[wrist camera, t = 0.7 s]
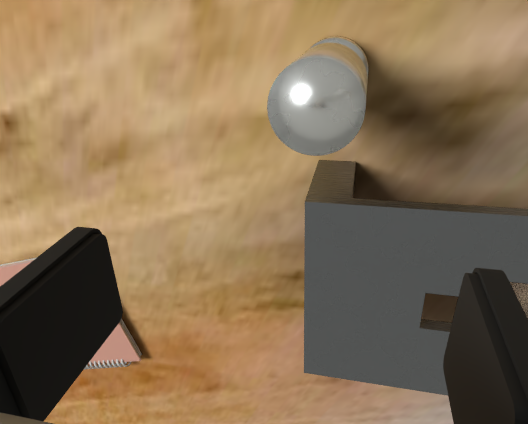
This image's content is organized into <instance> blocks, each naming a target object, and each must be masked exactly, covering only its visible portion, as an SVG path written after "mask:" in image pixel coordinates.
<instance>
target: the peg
mask: <svg viewBox="0 0 528 424" xmlns="http://www.w3.org/2000/svg"><path fill="white" fill-rule="evenodd" d="M368 73H369V67H368V61H367V58H366V55H365V53H364V51H363V50H362V49H361V47H360V46H359V45H358V44H357V43H355V42H354V41H352V40H350V39H348V38H345V37H340V36H332V37H327V38H324V39H322V40H320V41H318V42H317V43H315V44H314V45H313V46H312V47H311V48H310V49H308V50H307V51H306V52H304V53H303V54H302V55H301V56H300V57H298V58H297V59H296V60H295V61H294V62H292V63H291V64H290V65H289V66H288V67H286V68H285V69H284V70H283V71H282V72H281V73H280V74H279V75H278V77H277V78H276V80H275V81H274V83H273V85H272V87H271V89H270V93H269V96H268V105H267V109H268V117H269V121H270V124H271V126H272V128H273V130H274V132H275V134H276V135H277V136H278V138H279V139H280V140H281V141H282V142H283V143H284V144H285V145H287V146H288V147H289V148H291V149H293V150H295V151H297V152H299V153H302V154H306V155H313V156H320V155H327V154H330V153H333V152H336V151H338V150H340V149H342V148H343V147H345V146H346V145H347V144H349V143H350V142H351V141H352V140H353V139H354V137H355V136H356V135H357V133H358V131H359V130H360V128H361V126H362V123H363V120H364V116H365V108H366V96H367V84H368Z"/></svg>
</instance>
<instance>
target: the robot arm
mask: <svg viewBox="0 0 528 424" xmlns="http://www.w3.org/2000/svg"><path fill="white" fill-rule="evenodd" d="M122 314H123V310H122V305H121V300H120V296H119V291H118V287H117V283H116V278H115V274H114V269H113V265H112V261H111V256H110V252H109V247H108V243H107V239H106V237H105V236H104V235H103V234H102V233H101V232H100V230H98V229H95V228H85V227H76V228H74V229H73V230H72V231H70V232H69V233H68V234H67V235H65V236H64V237H63V238H61V239H60V240H59V241H58V242H56V243H55V244H54V245H53V246H51V247H50V248H49V249H47V250H46V251H45V252H44V253H42V254H41V255H40V256H38V257H37V258H36V259H35V260H33V261H32V262H31V263H30V264H28V265H27V266H26V267H24V268H23V269H22V270H21V271H19V272H18V273H17V274H16V275H14V276H13V277H12V278H10V279H9V280H8V281H7V282H5V283H4V284H3V285H1V286H0V424H53V423H48V422H43V421H44V420H45V419H46V417H47V416H48V415H49V414H50V412H51V411H52V410H53V408H54V407H55V406H56V404H57V403H58V402H59V401H60V399H61V398H62V397H63V395H64V394H65V393H66V391H67V390H68V389H69V388H70V386H71V385H72V384H73V382H74V381H75V380H76V378H77V377H78V376H79V375H80V373H81V372H82V371H83V369H84V368H85V367H86V365H87V364H88V363H89V362H90V360H91V359H92V358H93V356H94V355H95V354H96V352H97V351H98V350H99V349H100V347H101V346H102V345H103V343H104V342H105V341H106V339H107V338H108V337H109V336H110V334H111V333H112V332H113V330H114V329H115V328H116V326H117V325H118V324H119V322H120V321H121V318H122ZM443 370H444V376H445V381H446V386H447V391H448V396H449V401H450V406H451V412H452V417H453V422H454V424H528V319H527V317H526V315H525V313H524V311H523V309H522V307H521V305H520V303H519V301H518V299H517V296H516V294H515V292H514V290H513V288H512V286H511V284H510V282H509V280H508V278H507V276H506V274H505V272H504V271H502V270H495V269H485V268H475V269H474V270H473V273H465V274H464V277H463V280H462V284H461V288H460V293H459V297H458V301H457V305H456V309H455V313H454V317H453V321H452V325H451V329H450V334H449V338H448V342H447V346H446V350H445V354H444V360H443Z"/></svg>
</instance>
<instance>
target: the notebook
mask: <svg viewBox="0 0 528 424" xmlns="http://www.w3.org/2000/svg"><path fill="white" fill-rule="evenodd" d="M35 259H36V258H32V259H27V260H22V261H17V262H12V263H7V264H2V265H0V286H1V285H3V284H4V283H5V282H7V281H8V280H9V279H10V278H12V277H13V276H14V275H16V274H17V273H18V272H19V271H21V270H22V269H23V268H24V267H26V266H27V265H28V264H30V263H31V262H32V261H33V260H35ZM141 355H142V354H141V352H140V350H139V348H138V347H137V345H136V343H135V341H134V340H133V338H132V336H131V334H130V333H129V331H128V329H127V327H126V325H125V324H124V322H123V320H122V318H121V321H120V322H119V324H118V325H117V326H116V328H115V329H114V330H113V332H112V333H111V334H110V336H109V337H108V338H107V339H106V341H105V342H104V343H103V345H102V346H101V347H100V349H99V350H98V351H97V352H96V354H95V355H94V356H93V358H92V359H91V360H90V362H89V363H88V364H87V365H86V367H87V368H86V367H85V368H84V369H96V368H109V367H119V366H120V367H123V366H125V367H127V366H129V365H130V364H131V362H132V361H141V358H140V357H141ZM118 362H121V363H120V364H119V363H118ZM123 362H125V363H123ZM127 362H129V364H128V365H126V363H127ZM105 363H107V365H105ZM109 363H112V364H111V365H110V364H109ZM114 363H116V364H114ZM89 364H90V366H89V367H88V365H89ZM92 364H94V366H92ZM96 364H99V365H98V366H97V365H96ZM101 364H103V365H102V366H101ZM121 364H122V366H121ZM108 365H109V366H108ZM112 365H113V366H112ZM116 365H118V366H116ZM99 366H100V367H99ZM103 366H104V367H103ZM107 366H108V367H107ZM90 367H91V368H90ZM94 367H95V368H94Z"/></svg>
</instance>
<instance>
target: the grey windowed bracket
mask: <svg viewBox="0 0 528 424" xmlns="http://www.w3.org/2000/svg"><path fill="white" fill-rule="evenodd" d="M355 167H356V162H351V161H327V160H319V162H318V164H317V167H316V170H315V173H314V176H313V179H312V182H311V185H310V188H309V191H308V194H307V197H306V200H305V293H304V373H309V374H316V375H322V376H328V377H335V378H341V379H347V380H354V381H360V382H366V383H373V384H379V385H385V386H391V387H398V388H404V389H410V390H417V391H423V392H429V393H436V394H442V395H448V391H447V386H446V381H445V376H444V370H443V360H444V354H445V350H446V346H447V342H448V338H449V334H450V329H451V325H452V323H448V322H440V321H432V320H423V319H421V316H422V310H423V304H424V298H425V293H430V294H440V295H449V296H458V297H459V293H460V288H461V284H462V280H463V277H464V274H465V273H473V270H474V269H475V268H485V269H495V270H502V271H504V272H505V274H506V276H507V278H508V280H509V282H516V283H526V284H528V209H519V208H503V207H487V206H470V205H454V204H438V203H422V202H406V201H389V200H373V199H357V198H353V197H354V182H355Z"/></svg>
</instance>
